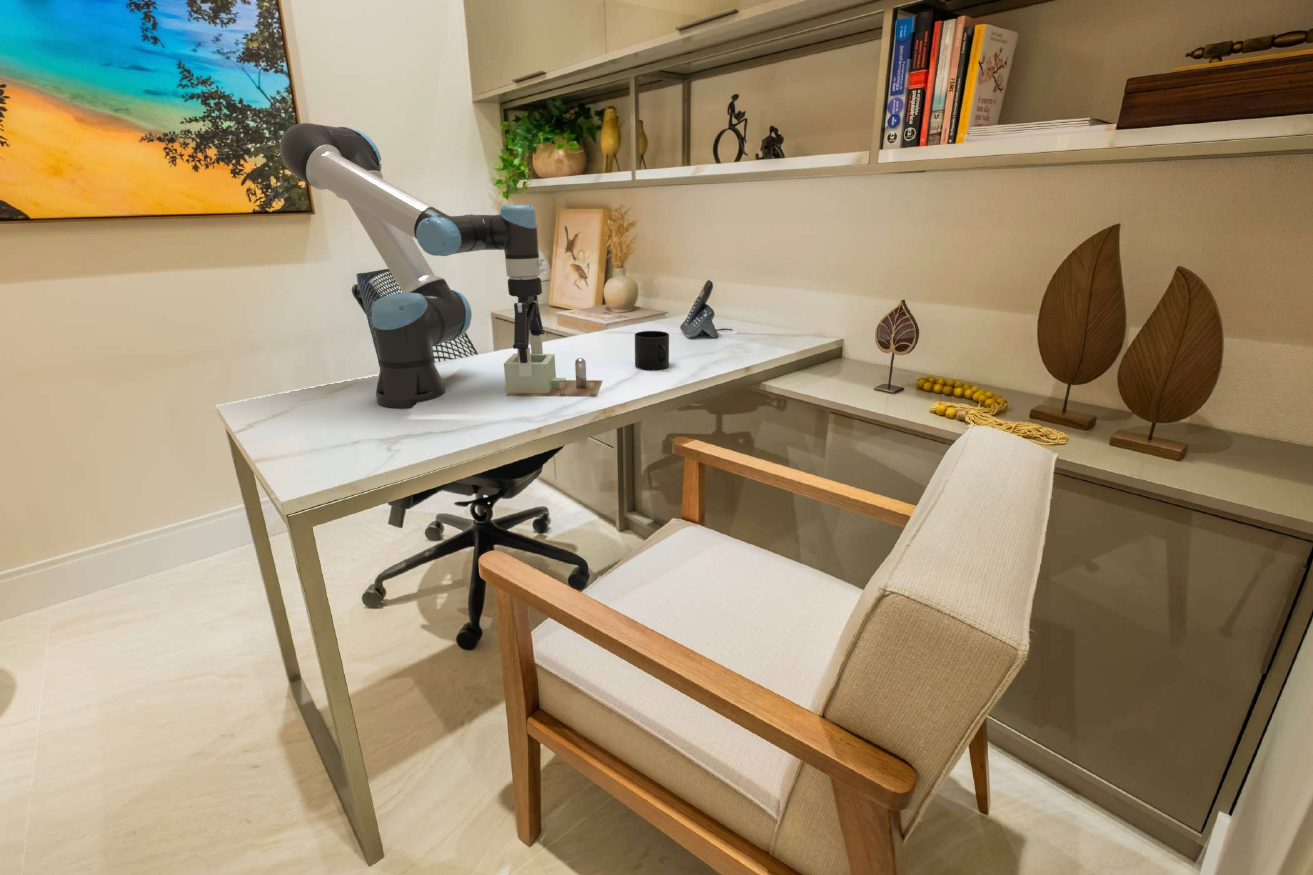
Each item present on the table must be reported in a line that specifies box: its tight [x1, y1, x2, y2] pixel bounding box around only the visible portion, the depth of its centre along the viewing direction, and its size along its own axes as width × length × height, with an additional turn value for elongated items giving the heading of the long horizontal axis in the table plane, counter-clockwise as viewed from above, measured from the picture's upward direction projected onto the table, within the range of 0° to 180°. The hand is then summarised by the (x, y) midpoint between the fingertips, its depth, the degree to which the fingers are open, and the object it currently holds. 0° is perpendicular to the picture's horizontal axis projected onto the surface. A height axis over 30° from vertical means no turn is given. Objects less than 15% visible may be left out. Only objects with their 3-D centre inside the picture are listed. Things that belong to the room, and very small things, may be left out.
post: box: [574, 357, 587, 389], centre depth 150 cm, size 2×2×7 cm
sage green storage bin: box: [503, 353, 566, 394], centre depth 150 cm, size 13×10×7 cm
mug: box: [634, 330, 670, 371], centre depth 172 cm, size 9×12×9 cm
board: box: [505, 379, 603, 398], centre depth 151 cm, size 21×13×4 cm, turn 89°
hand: (532, 368), depth 150 cm, fingers open, 13 cm apart
